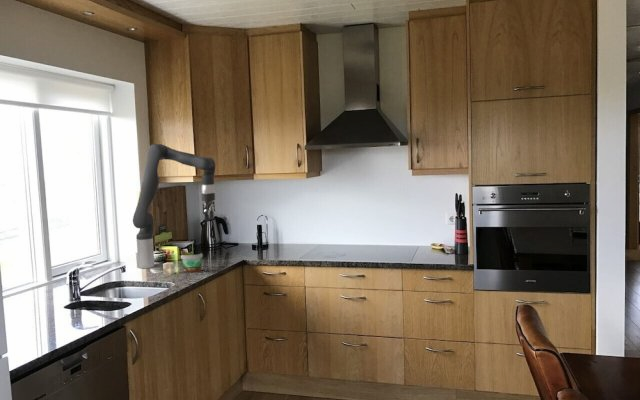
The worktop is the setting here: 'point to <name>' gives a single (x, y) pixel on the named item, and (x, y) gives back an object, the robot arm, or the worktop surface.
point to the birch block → (168, 268)
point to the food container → (192, 263)
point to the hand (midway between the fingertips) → (209, 220)
